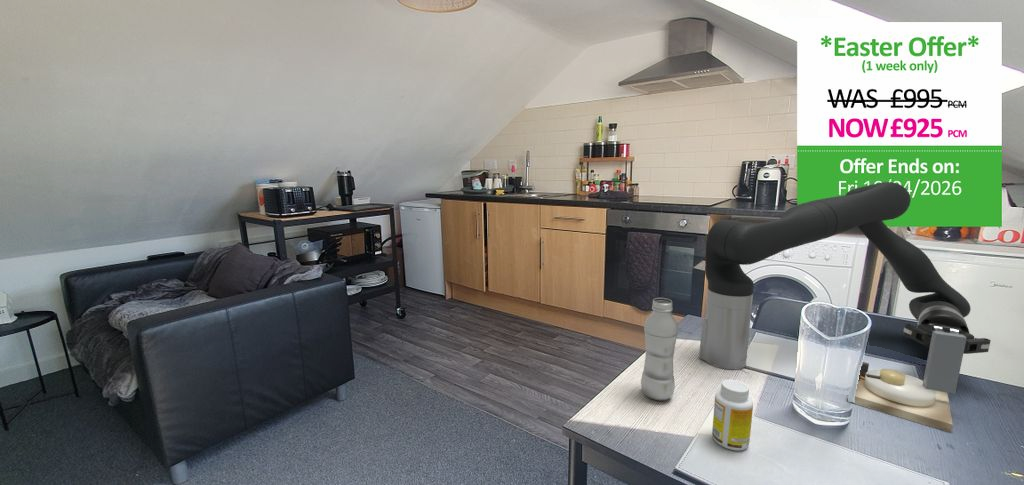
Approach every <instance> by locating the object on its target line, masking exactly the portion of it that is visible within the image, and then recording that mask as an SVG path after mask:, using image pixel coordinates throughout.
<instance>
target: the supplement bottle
mask: <svg viewBox="0 0 1024 485" xmlns="http://www.w3.org/2000/svg"><path fill="white" fill-rule="evenodd" d="M749 392H750V387H749V386H748V385H747V384H746V383H745V382H742V381H740V380H736V379H730V378H729V379H724V380H722V382H721V386H720V389H719V390H717V391H716V392H715V395H714V405H713V419H712V428H711V429H712V430H711V435H712V438H713V440H714V441H715V443H717V444H718V445H719V446H721V447H722V448H725V449H728V450H731V451H738V452H739V451H744V450H746V449H748V448H749V445H750V442H751V440H750V439H751V430H752V419H753V411H754V401H753V399H752V397H750V394H749Z"/></svg>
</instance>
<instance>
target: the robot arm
mask: <svg viewBox="0 0 1024 485" xmlns="http://www.w3.org/2000/svg"><path fill="white" fill-rule="evenodd" d="M911 199H912V198H911V195H910V192H909V191H908V189H906V187H905V186H903V185H901V184H899V183H897V182H894V181H893V182H892V181H883V182H877V183H873V184H869V185H865V186H859V187H855V188H851V189H850V190H849V191H847V193H846V194H845V195H839V196H830V197H826V198H819V199H814V200H809V201H807V202H803V203H799V204H796V205H794V206H791V207H789V208H787V210H786V211H784V212H783V213H782V215H781V217H780V218H778V219H776V220H772V221H767V222H760V223H753V222H745V221H739V220H733V219H721V220H717V221H716V222H715V223H713V224H712V226H711V227H710V228H709V230H708V233H707V236H706V240H705V264H704V266H705V267H704V270H705V271H704V273H705V278H706V280H707V292H706V295H707V296H706V304H705V306H706V307H705V318H704V319H702V321H701V331H700V343H699V355H698V356H699V357H698V358H699V359H700V360H703V361H705V362H706V363H707V364H709V365H711V366H714V367H717V368H719V369H726V370H741V369H743V368H745V367H746V365H747V359H748V348H749V347H748V346H749V337H750V326H751V318H752V317H751V316H752V307H753V298H754V297H753V296H754V291H755V290H754V289H755V288H754V287H755V284H754V281H753V279H752V278H751V277H750V276H749V275H747V274H746V273H745V271H743V269H742V267H741V265H743V266H748V265H753V264H756V263H760V262H761V261H764V260H766V259H768V258H770V257H772V256H774V255H777V254H779V253H781V252H782V253H783V252H784V251H786V250H790V249H794V248H797V247H800V246H804V245H807V244H812V243H814V242H819V241H821V240H825V239H829V238H830V237H833V236H836V235H839V234H842V233H844V232H848V231H851V230H852V229H855V228H857V229H858V230H859V231H860V232H861V233H862V234H863V236H865V237H866V239H868V240H869V242H870V243H871V244H872V245H873V246H874V247H875V248H876V249H877V250H878V251H879V252H880V254H881V255H883V257H884V258H885V259H886V260H887V262H888V263H889V265H890V266H891V267H892V269H893V270H894V272H895V274H896V275H897V277H898V278H899V279H900V281H901V283H902V285H903V286H904V288H905V289H906V290H907V291H909V292H912V293H916V294H917V293H918V294H924V293H925V295H920V296H917V297H914V298H912V299H911V300H910V301H909V303H908V308H909V309H908V310H909V312H910V314H911V315H912V316H913V318H915V320H916V321H917V325H916V326H914V325H913V324H910V323H904V327H903V332H902V333H903V334H902V335H903V336H905V337H907V338H909V339H911V340H913V341H915V342H917V343H919V344H921V345H923V346H926V347H930V343H931V338H932V333H933V331H938V332H946V333H953V334H961V335H964V336H965V337H966V338H967V339H966V344H965V349H964V353H963V355H964V354H966V355H969V354H980V353H981V354H982V353H988V352H989V350H990V345H991V339H989V338H986V337H981V338H979V337H975V336H974V335H973V334H972V333H970V329H969V326H968V324H967V322H966V321H967V320H966V319H965V317H968V316H969V314H970V313H971V311H972V310H971V305H970V303H969V301H968V300H967V298H965V296H963V295H962V294H961V293H960V291H959V292H958V291H957V290H956V289H955V288H953V287H952V286H951V285H950V284H949V283H947V281H945V280H944V278H943V277H942V276H941V275H940V273H939V272H938V270H937V269H936V267H935V265H934V264H933V262H932V261H931V259H930V258H929V257H928V255H927V254H926V253H925V252H924V251H923V250H922V249H920V248H919V247H918V246H916V245H915V244H913V243H911V242H910V241H908V240H907V239H905V238H903V237H901V236H900V235H898V234H897V233H895V232H894V231H893V230H892V229H891V228H889V227H888V226H887V224H886V223H884V221H891V220H894V219H897V218H899V217H901V216H903V215H904V214H905V213H906V212H907V211H908V209H909V207H910V205H911ZM926 293H927V294H926ZM928 293H929V294H928Z"/></svg>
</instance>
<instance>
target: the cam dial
mask: <svg viewBox="0 0 1024 485" xmlns="http://www.w3.org/2000/svg"><path fill="white" fill-rule="evenodd" d="M966 339H967V338H966V337H965V336H964V335H961V334H953V333H946V332H938V331H933V333H932V338H931V343H930V346H929V350H928V353H927V354H928V355H927V361H926V364H925V365H926V366H925V371H924V374H923V376H924V377H923V380H922V379H920V378H917V377H914V376H913V375H909V374H906V373H903V372H901V371H898V370H895V369H892V368H890V369H889V368H881V369H870V370H868V372H866V376H865V382H864V384H865V386H866V387H867V388H868V389H869V390H870V391H872V392H873V393H875V394H877V395H879V396H881V397H883V398H886V399H888V400H891V401H894V402H897V403H901V404H906V405H911V406H920V407H925V406H931V405H933V404H934V402H935V397H936V391H941V392H947V393H948V394H952V395H953V394H954V395H956V392H957V386H958V381H959V377H960V373H961V367H962V363H963V358H964V354H963V353H964V349H965V344H966Z"/></svg>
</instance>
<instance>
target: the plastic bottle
mask: <svg viewBox="0 0 1024 485" xmlns="http://www.w3.org/2000/svg"><path fill="white" fill-rule="evenodd" d="M651 310H652V312H651V313H650V314H649V315H648V316H647V317H646V319H645V321H644V324H643V328H644V329H643V330H644V341H645V342H644V343H645V357H644V365H643V371H642V374H641V378H640V384H641V385H640V386H641V390H642V392H643V394H644V395H645V396H646V397H647V398H650V399H651V400H655V401H659V402H660V401H667V400H669V399H670V398H672V396H673V395H674V393H675V388H676V385H675V384H676V383H675V376H674V355H675V349H676V348H675V347H676V342H677V339H678V334H679V325H678V322H677V320H676V319H675V317H674V316H673V314H672V312H673V310H674V309H673V301H672V299H671V298H670V299H669V298H665V297H656V298H653V299H652V306H651Z"/></svg>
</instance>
